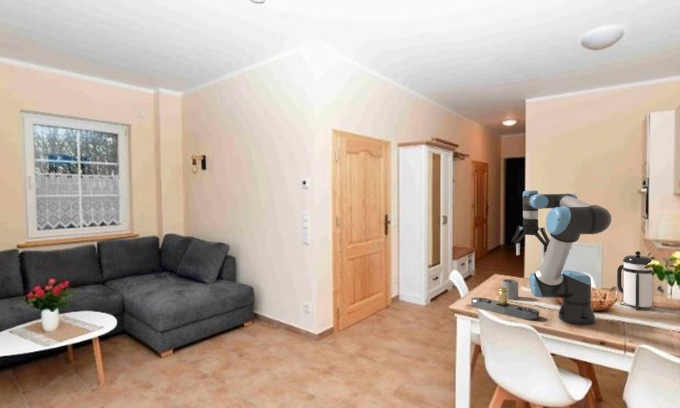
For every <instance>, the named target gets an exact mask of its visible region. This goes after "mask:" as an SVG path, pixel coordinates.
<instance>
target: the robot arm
mask: <svg viewBox="0 0 680 408" xmlns="http://www.w3.org/2000/svg"><path fill="white" fill-rule="evenodd" d="M543 209H550V210H549V211H548V212H547V215H546V219H545V220H546V222H545V227H539V219H538V218H539V210H543ZM522 217H523V219H522V226H520V225H519V226H517V227H516V231H515V233H514V235H512V236H513V237H512V239H511V241H510V242H511V243H513V244H514V249H515V250H516V251H515V252H516V254H515V255H516V256H520V255H521V251H520V249H521V243H520V241H521V240H522V239H523V238H524V237H525V236H526V235H527V236H535V237H536V238H537V240H539V242H540V243H541V244H542V245H541V247H542V248H541V249H542V250H541V258H542V259H543V260H542V264H541V266H540V267H537V269H536V271H535V273H534V272H531V273H529V274H528V275H529V276H528V282H529V289H530V292H531V293H532V295H533V297H535V298H541V299H543V298H544V299H549V298H550V299H552V298H553V299H562V302H561V305H560V308H559V310H558V319H559V320H561V321H563V322H566V323H570V324H573V325H583V326H587V325H588V326H589V325H594V324H596V316H595V314H594V309H593V308H592V282H591V281H592V280H591V276H590V275H588V274H586V273H584V272H579V271H574V270H569V269H568V270H564V268H565V264H566V262H567V259H568V257H569V254H570V251H571V249H572V246H573V244H574V243H575V242H578V241H579V239H580V237H581V235H596V234H600V233H603V232H604V231H606V230H607V229H608V228H609V227H610V225H611V223H612V215H611V213H610V211H608V209H606V208H605V207H603V206H600V205H599V204H590V203H587V202H585V201H582V200H580V199H578V196H577V195H576V194H575V193H546V194H545V193H539V191H538V190H524V191H523V192H522ZM521 231H523V232H522V233H521V234H520V232H521ZM546 231H547V232H546ZM540 232H541V233H540ZM547 233H548V234H549V235H550V238H549V236H548V235H547ZM540 234H541V235H542V236H541V235H540Z"/></svg>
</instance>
